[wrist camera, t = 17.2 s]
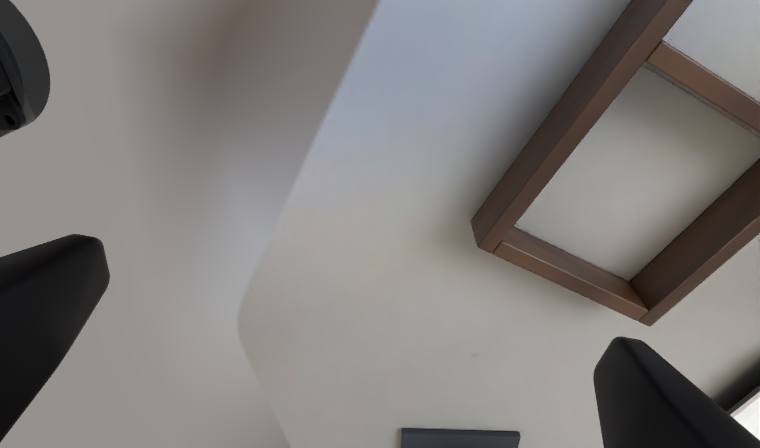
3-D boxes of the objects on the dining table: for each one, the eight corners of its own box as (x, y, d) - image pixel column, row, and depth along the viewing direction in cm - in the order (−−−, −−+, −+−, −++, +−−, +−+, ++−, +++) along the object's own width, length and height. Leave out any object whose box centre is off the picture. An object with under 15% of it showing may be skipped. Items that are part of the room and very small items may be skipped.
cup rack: (469, 221, 21) (476, 247, 20) (858, -312, 12) (942, -361, 10) (630, 297, 23) (650, 327, 22) (1068, -107, 14) (1169, -116, 12)
